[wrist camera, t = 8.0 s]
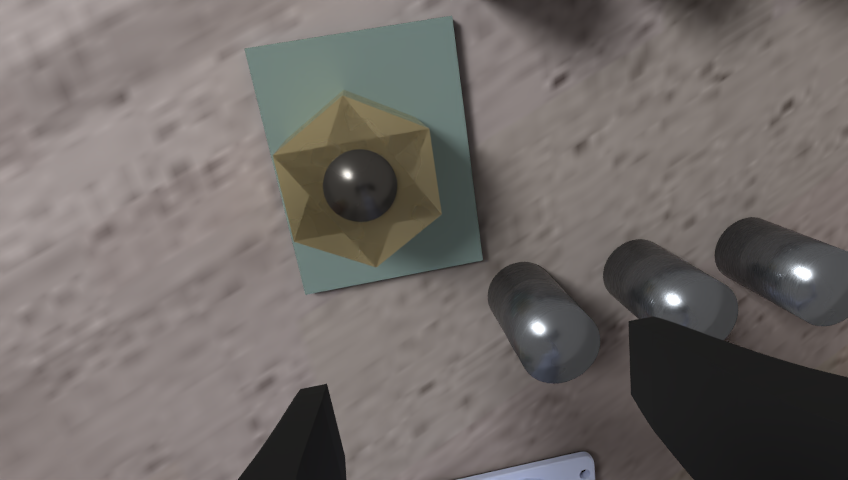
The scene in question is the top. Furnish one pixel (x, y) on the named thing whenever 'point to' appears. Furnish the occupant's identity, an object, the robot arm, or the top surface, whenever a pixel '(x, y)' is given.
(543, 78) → the top surface
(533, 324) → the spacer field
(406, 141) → the brass nut
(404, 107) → the green mat
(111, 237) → the top surface
